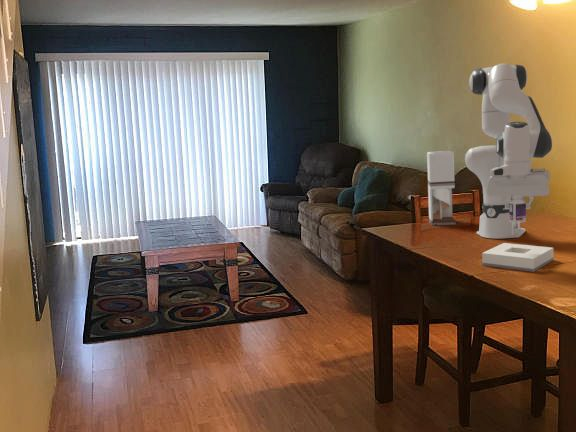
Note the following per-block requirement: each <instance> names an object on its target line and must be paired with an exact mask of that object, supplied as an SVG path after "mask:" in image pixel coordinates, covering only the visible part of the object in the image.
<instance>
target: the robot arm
mask: <svg viewBox="0 0 576 432" xmlns="http://www.w3.org/2000/svg"><path fill="white" fill-rule="evenodd" d="M527 82H528V72H527V70H526V67H525V66H524V65H522V64H514V65H511V64H508V63H505V62H504V63H498V64H496V65H494V66H489V67H488V66H487V67H484V68H482V67H480V68H479V67H478V68H476V69H474V70H473V71H472V72H471V74H470V76H469V82H468V85H469V88H470V90H471V92H472V94H474V95H480V96H481V95H482V99H481V130H482V132H483V133H484V134H485V135H486V136H488V137H491V138H494V139H495V141H496V142H495V143H496V144H494V145H479V146H476V147H472V148H469V149H468V151H466V153H465V156H464V163H465V166H466V168H467V169H468V170H469V171H471V172H472V173H473V174H474V175H476V177H477V178H478V179H479V181H480V183H481V186H482V194H483V195H482V196H483V197H482V198H483V203H482V206H481V208H482V214H481V215H480V216H479V225H478V226H479V229H478V230H477V231H476V235H479V236H480V237H481V238H487V239H496V240H497V239H511V238H512V239H513V238H514V239H515V238H517V239H518V238H521V236H522V235H523V234H524V233H525V232H526V231H527V230H526V228H523V227H521V222H520V223H515V222H510V217H509V202H510V200H512V197H511V196H514V195H521V196H524V197H529V202H528V203H527V202H526V210H531V205H532V202H533V201H534V199H535V198H534V197H547V196H548V195H549V194H550V186H549V181H550V180H551V172H550V171H549V170H548V169H546V168H532V158H534V159H535V158H537V159H538V158H540V159H542V158H544V157H546V156H547V155H549V153H550V152H552V148H553V140H552V136H551V134H550V132H549V131H548V128H546V126H545V124H544V121H543V119H542V116H541V115H540V113H539V110H538V108H537V105H536V103H535V101H534V100H533V98H532V97H531V96H529V95H527V94H525V93H524V92H523V90H524V88H525V87H526V85H527ZM510 114H513V115H517V116H520V117H522V118H524V119H525V120H526V121H511V115H510Z"/></svg>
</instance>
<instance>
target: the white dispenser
mask: <svg viewBox="0 0 576 432" xmlns="http://www.w3.org/2000/svg"><path fill="white" fill-rule="evenodd" d="M426 164H427V166H426V167H427V196H428V197H427V198H428V199H427V201H428V222H429V224H430V223H431V224H430V225H431V226H447V225H448V226H449V225H456V222H457V221H456V219H455V218H454V217H453V189H455V188H456V187H455V186H456V185H455V184H456V183H455V152H453V151H451V150H443V151H442V150H441V151H428V152H426ZM435 224H437V225H435Z"/></svg>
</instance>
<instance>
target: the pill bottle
mask: <svg viewBox="0 0 576 432" xmlns="http://www.w3.org/2000/svg"><path fill="white" fill-rule="evenodd" d="M524 197H525V196H521V195H514V196H511V200H510V202H509V217H510V222H515V223H520V224H521V223H524V222H525V223H526V221H527V209H526V203H527V201H526V200H525V199H524Z"/></svg>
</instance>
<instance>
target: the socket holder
mask: <svg viewBox="0 0 576 432" xmlns="http://www.w3.org/2000/svg"><path fill="white" fill-rule="evenodd" d="M552 261H554V247H549V246H542V245H541V246H537V245H532V244H531V245H530V244H520V243H509V242H508V243H507V242H503V243H501V244H498V245H497V246H494V247H492V248H490V249H488V250H485V251H484V252H482V253H481V264H482V265H481V266H484V267H492V268H493V267H494V268H498V269H499V268H502V269H509V270H514V271H515V270H517V271H524V272H532V273H534V272H536V271H537V270H540V269H541V268H543V267H545V266H546V265H548V264H549V263H551V262H552Z"/></svg>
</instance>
